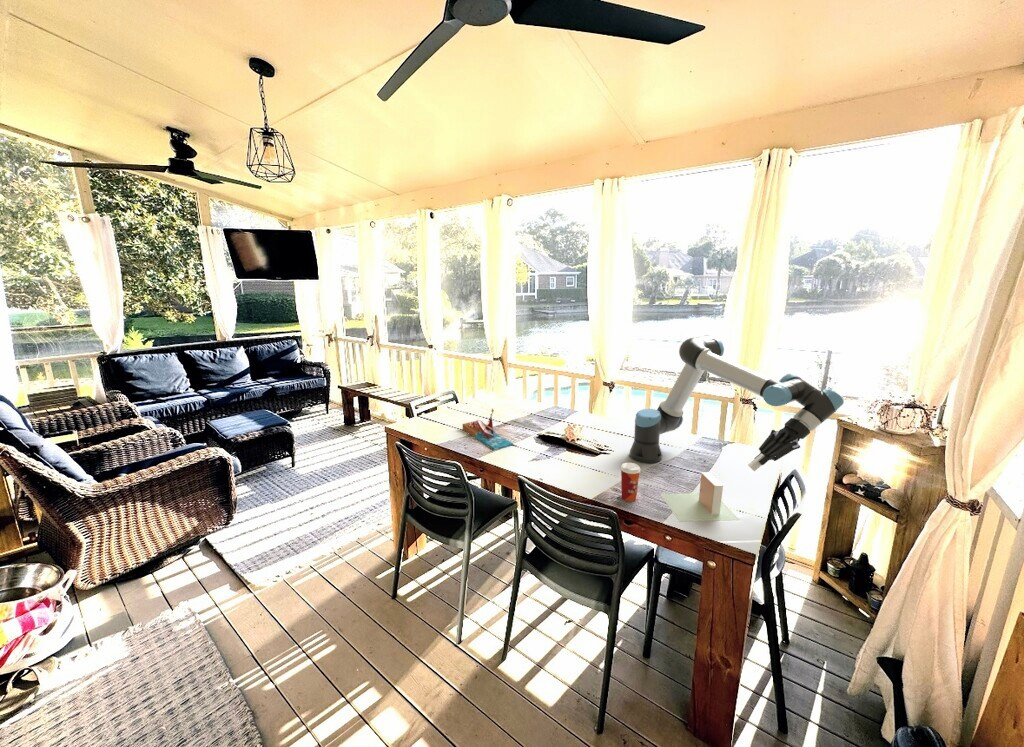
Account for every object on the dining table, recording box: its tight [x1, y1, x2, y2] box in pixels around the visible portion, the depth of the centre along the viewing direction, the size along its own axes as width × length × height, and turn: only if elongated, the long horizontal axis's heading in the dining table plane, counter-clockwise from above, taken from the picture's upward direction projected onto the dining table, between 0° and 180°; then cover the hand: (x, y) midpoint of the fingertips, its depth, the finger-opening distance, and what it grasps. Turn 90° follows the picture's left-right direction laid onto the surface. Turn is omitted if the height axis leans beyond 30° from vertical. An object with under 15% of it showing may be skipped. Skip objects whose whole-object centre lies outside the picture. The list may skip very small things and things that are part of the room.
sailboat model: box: [462, 408, 514, 451], centre depth 225 cm, size 12×37×17 cm, turn 34°
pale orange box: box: [698, 471, 724, 515], centre depth 151 cm, size 10×3×12 cm, turn 1°
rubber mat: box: [659, 492, 740, 522], centre depth 153 cm, size 19×22×1 cm
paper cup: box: [620, 462, 642, 503], centre depth 159 cm, size 8×8×14 cm
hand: (751, 468), depth 148 cm, fingers closed
